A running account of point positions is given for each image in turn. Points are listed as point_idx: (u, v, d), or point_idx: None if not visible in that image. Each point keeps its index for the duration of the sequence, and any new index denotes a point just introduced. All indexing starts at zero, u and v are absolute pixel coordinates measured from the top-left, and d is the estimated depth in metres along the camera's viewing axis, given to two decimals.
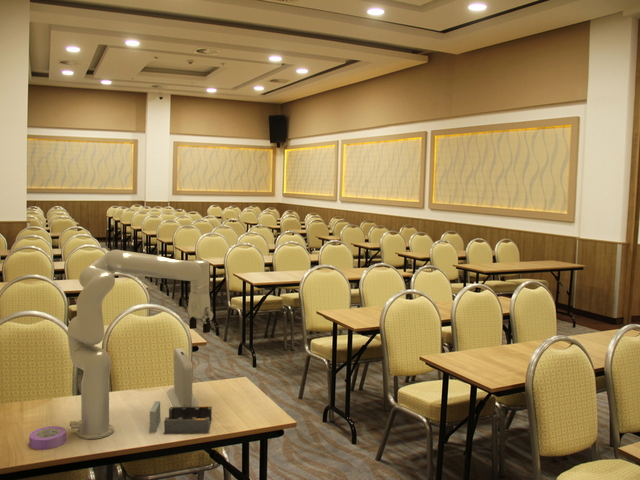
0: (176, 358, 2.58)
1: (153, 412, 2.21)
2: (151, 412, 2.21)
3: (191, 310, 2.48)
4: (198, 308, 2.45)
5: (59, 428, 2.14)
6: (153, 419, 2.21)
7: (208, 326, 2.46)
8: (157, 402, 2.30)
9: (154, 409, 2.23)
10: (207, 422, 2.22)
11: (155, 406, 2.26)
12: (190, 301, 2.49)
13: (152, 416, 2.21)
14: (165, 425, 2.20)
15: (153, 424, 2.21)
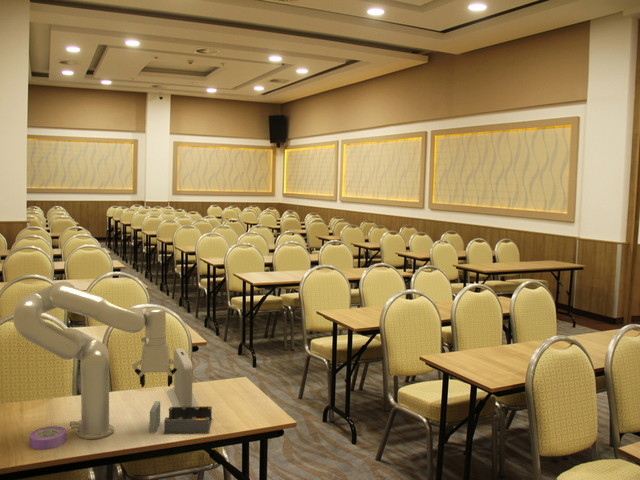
0: (176, 358, 2.58)
1: (153, 412, 2.21)
2: (151, 412, 2.21)
3: (149, 365, 2.22)
4: (163, 361, 2.23)
5: (59, 428, 2.14)
6: (153, 419, 2.21)
7: None
8: (157, 402, 2.30)
9: (154, 409, 2.23)
10: (207, 422, 2.22)
11: (155, 406, 2.26)
12: (146, 356, 2.22)
13: (152, 416, 2.21)
14: (165, 425, 2.20)
15: (153, 424, 2.21)
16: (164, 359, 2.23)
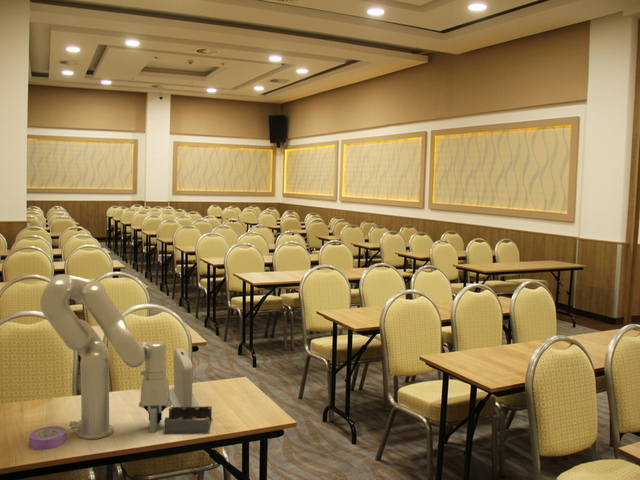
0: (176, 358, 2.58)
1: (153, 412, 2.21)
2: (151, 412, 2.21)
3: (148, 399, 2.23)
4: (162, 395, 2.24)
5: (59, 428, 2.14)
6: (153, 419, 2.21)
7: (161, 415, 2.27)
8: None
9: (154, 409, 2.23)
10: (207, 422, 2.22)
11: (155, 406, 2.26)
12: (146, 390, 2.23)
13: (152, 416, 2.21)
14: (165, 425, 2.20)
15: (153, 424, 2.21)
16: (163, 393, 2.24)
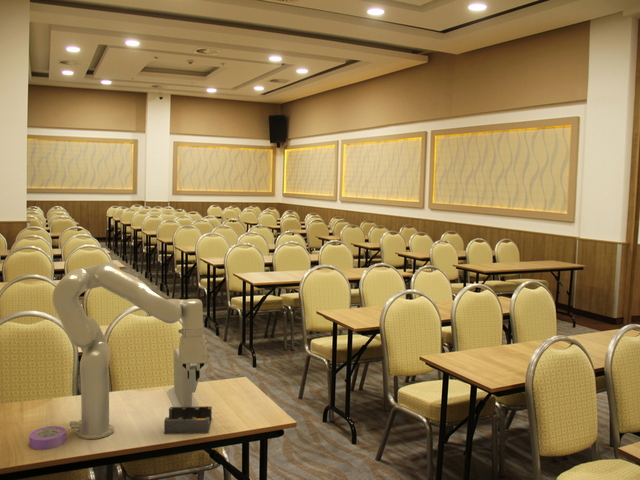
0: (176, 358, 2.58)
1: (192, 372, 2.21)
2: (190, 372, 2.21)
3: (187, 357, 2.23)
4: (200, 352, 2.24)
5: (59, 428, 2.14)
6: (192, 379, 2.22)
7: (199, 372, 2.27)
8: (194, 363, 2.31)
9: (193, 369, 2.23)
10: (207, 422, 2.22)
11: (193, 367, 2.26)
12: (184, 347, 2.23)
13: (191, 376, 2.21)
14: (165, 425, 2.20)
15: (193, 384, 2.22)
16: (202, 350, 2.24)
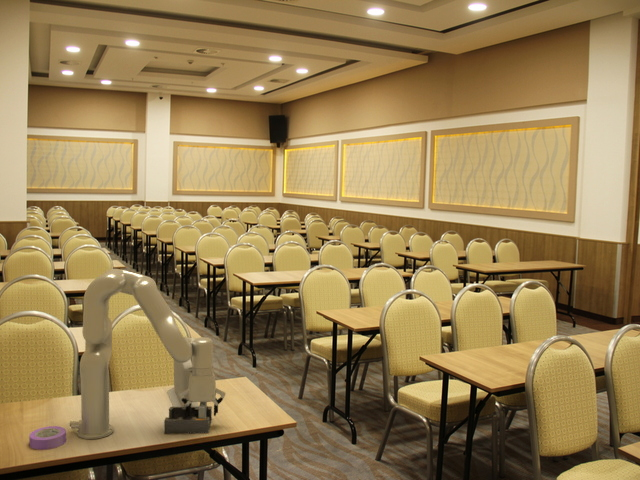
0: None
1: (202, 408, 2.23)
2: (200, 408, 2.23)
3: (196, 395, 2.25)
4: (209, 391, 2.25)
5: (59, 428, 2.14)
6: (202, 415, 2.23)
7: (217, 407, 2.29)
8: None
9: (202, 406, 2.25)
10: (207, 422, 2.22)
11: (203, 403, 2.27)
12: (194, 386, 2.24)
13: (201, 412, 2.23)
14: (165, 425, 2.20)
15: None
16: (211, 389, 2.25)
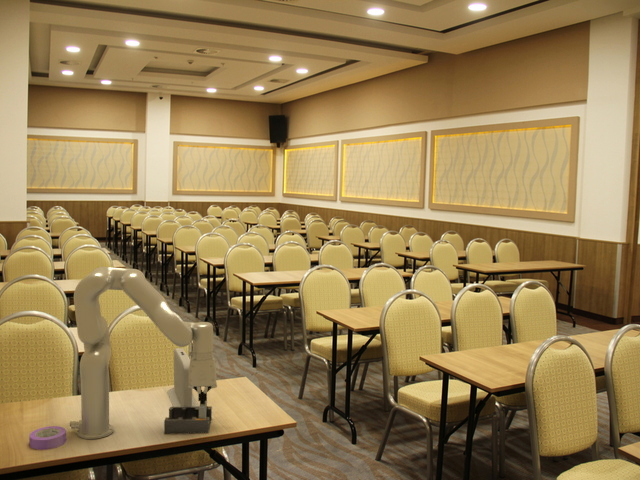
0: (176, 358, 2.58)
1: (202, 408, 2.23)
2: (200, 408, 2.23)
3: (196, 380, 2.24)
4: (210, 375, 2.25)
5: (59, 428, 2.14)
6: (202, 415, 2.23)
7: (206, 395, 2.28)
8: None
9: (203, 406, 2.25)
10: (207, 422, 2.22)
11: None
12: (194, 370, 2.24)
13: (201, 412, 2.23)
14: (165, 425, 2.20)
15: None
16: (211, 373, 2.25)
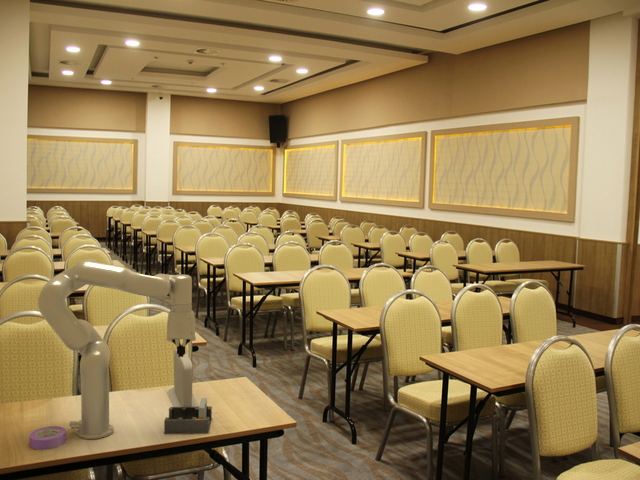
0: (176, 358, 2.58)
1: (202, 408, 2.23)
2: (200, 408, 2.23)
3: (175, 332, 2.22)
4: (188, 328, 2.22)
5: (59, 428, 2.14)
6: (202, 415, 2.23)
7: None
8: (204, 399, 2.32)
9: (202, 406, 2.25)
10: (207, 422, 2.22)
11: (203, 403, 2.27)
12: (172, 322, 2.22)
13: (201, 412, 2.23)
14: (165, 425, 2.20)
15: None
16: (190, 326, 2.23)
